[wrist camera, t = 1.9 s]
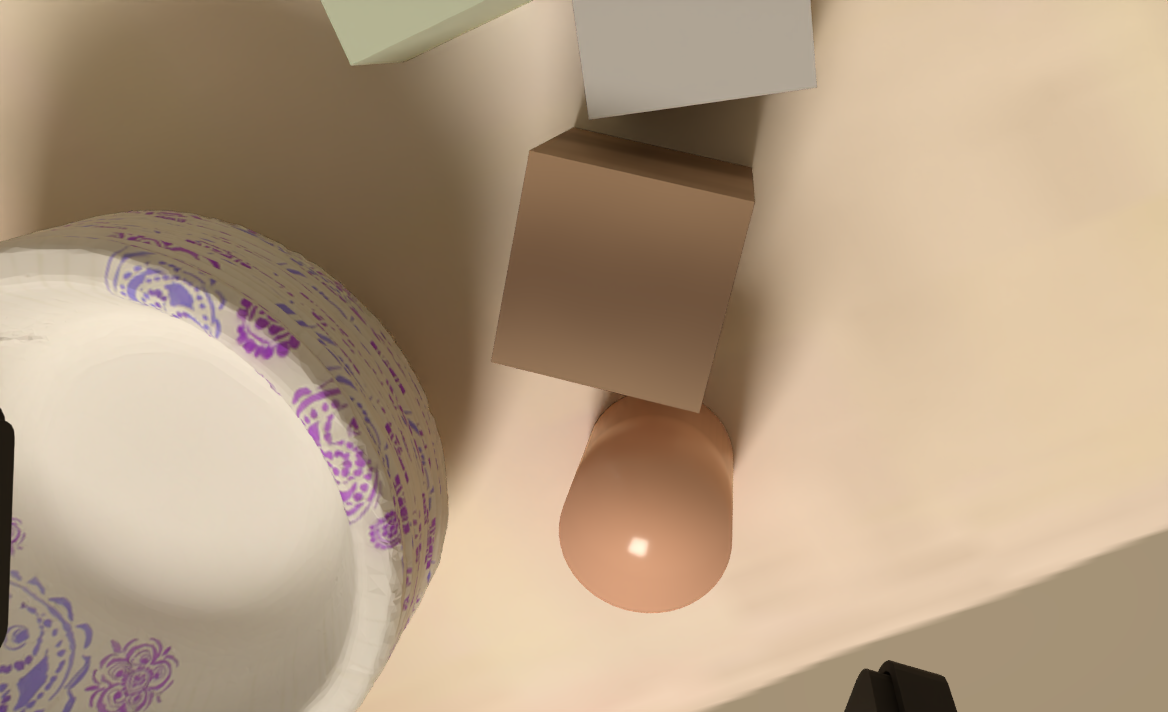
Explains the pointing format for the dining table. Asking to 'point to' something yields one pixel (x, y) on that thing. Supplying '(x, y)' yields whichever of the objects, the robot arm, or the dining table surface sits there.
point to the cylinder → (650, 507)
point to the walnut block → (623, 266)
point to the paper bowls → (205, 474)
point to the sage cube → (406, 25)
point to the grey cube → (691, 52)
